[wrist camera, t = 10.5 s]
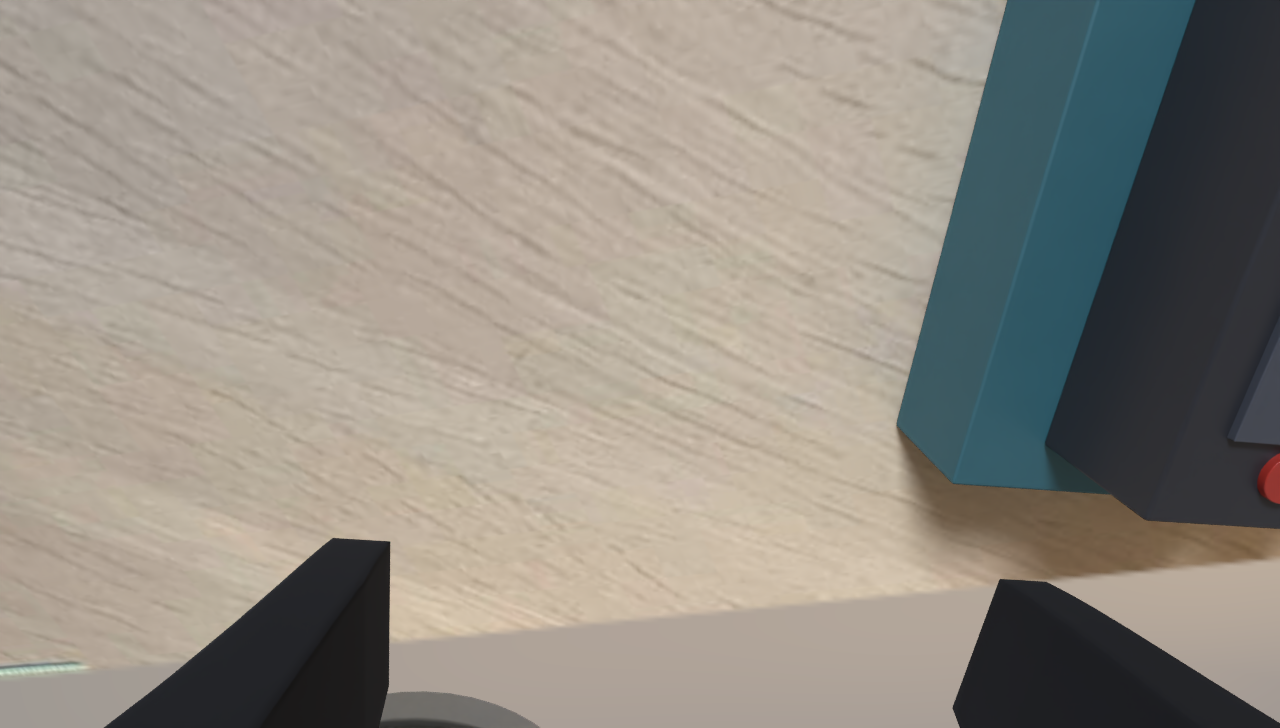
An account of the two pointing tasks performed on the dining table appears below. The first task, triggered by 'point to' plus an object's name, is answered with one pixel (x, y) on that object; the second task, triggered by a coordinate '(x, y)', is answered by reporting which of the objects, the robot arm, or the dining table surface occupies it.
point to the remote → (1192, 295)
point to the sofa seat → (1035, 233)
